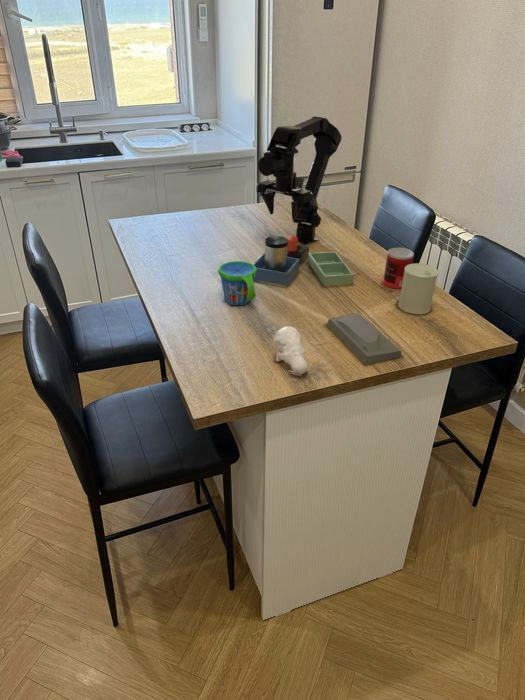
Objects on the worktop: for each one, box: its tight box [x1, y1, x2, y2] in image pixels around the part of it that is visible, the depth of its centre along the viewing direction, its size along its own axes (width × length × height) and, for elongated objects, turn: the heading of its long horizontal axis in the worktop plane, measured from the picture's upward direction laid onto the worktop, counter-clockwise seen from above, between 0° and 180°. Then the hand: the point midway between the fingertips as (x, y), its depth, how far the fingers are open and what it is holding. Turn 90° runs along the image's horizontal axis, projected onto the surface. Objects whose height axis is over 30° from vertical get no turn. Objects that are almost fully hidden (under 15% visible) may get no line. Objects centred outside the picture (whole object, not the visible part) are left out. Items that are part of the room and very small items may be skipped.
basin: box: [252, 252, 301, 287], centre depth 172 cm, size 12×12×5 cm
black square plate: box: [287, 244, 310, 265], centre depth 185 cm, size 10×10×3 cm
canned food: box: [382, 247, 415, 291], centre depth 166 cm, size 8×8×11 cm
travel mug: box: [264, 235, 288, 273], centre depth 170 cm, size 7×7×12 cm
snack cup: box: [217, 260, 257, 306], centre depth 156 cm, size 16×10×10 cm
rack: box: [307, 250, 355, 286], centre depth 175 cm, size 18×9×4 cm, turn 11°
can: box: [397, 262, 439, 315], centre depth 155 cm, size 9×9×12 cm
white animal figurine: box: [273, 325, 309, 377], centre depth 129 cm, size 6×8×12 cm
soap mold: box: [326, 313, 402, 366], centre depth 141 cm, size 10×20×4 cm, turn 22°
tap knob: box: [285, 235, 299, 252], centre depth 183 cm, size 4×4×4 cm
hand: (282, 217), depth 183 cm, fingers open, 9 cm apart
